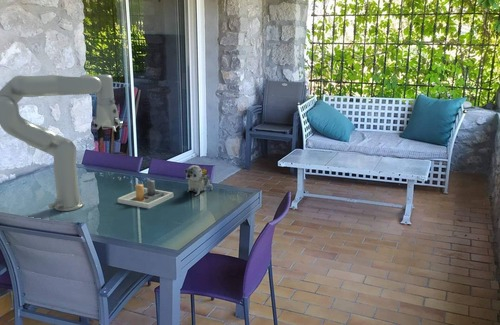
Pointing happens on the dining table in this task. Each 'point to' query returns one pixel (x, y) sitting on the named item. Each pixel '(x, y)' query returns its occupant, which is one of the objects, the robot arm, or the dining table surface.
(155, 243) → the dining table surface
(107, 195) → the dining table surface
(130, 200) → the tray
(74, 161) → the robot arm
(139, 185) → the jaw orange
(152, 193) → the jaw grey
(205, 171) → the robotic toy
